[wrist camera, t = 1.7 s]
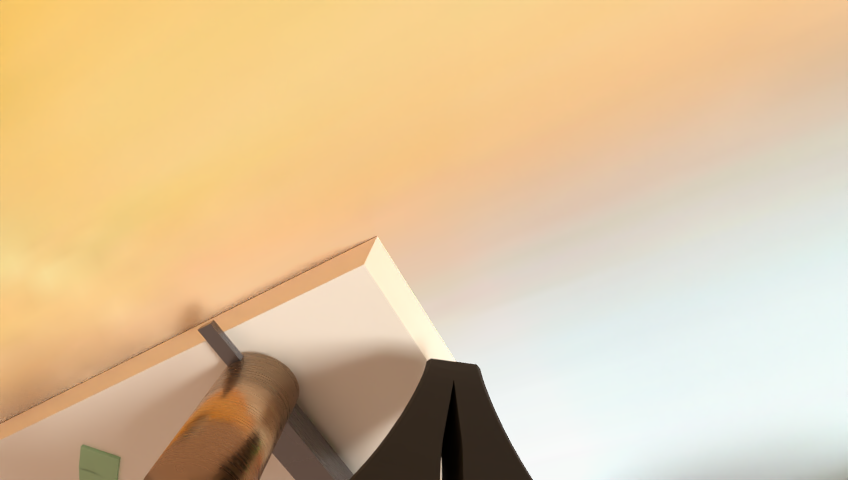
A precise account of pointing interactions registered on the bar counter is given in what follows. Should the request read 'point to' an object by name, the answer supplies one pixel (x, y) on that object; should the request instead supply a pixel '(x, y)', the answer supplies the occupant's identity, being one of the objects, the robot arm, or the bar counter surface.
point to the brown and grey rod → (247, 425)
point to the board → (251, 333)
